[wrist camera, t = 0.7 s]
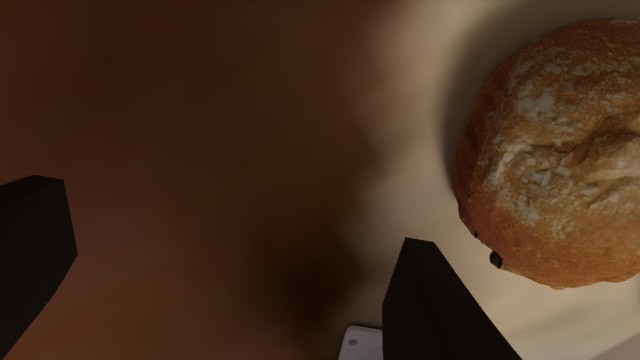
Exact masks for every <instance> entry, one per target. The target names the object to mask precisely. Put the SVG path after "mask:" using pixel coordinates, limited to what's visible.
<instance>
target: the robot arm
mask: <svg viewBox="0 0 640 360" xmlns="http://www.w3.org/2000/svg"><path fill="white" fill-rule="evenodd" d="M77 255H78V252H77V247H76V242H75V237H74V232H73V226H72V221H71V216H70V211H69V206H68V201H67V196H66V190H65V185H64V180H62V179H56V178H50V177H44V176H38V175H32V176H28V177H25V178H22V179H18V180H15V181H12V182H10V183H7V184H4V185H1V186H0V360H2V359H3V358H4V357H5V355H6V354H7V353H8V352H9V350H10V349H11V348H12V347H13V345H14V344H15V343H16V342H17V341H18V339H19V338H20V337H21V336H22V334H23V333H24V332H25V331H26V329H27V328H28V327H29V326H30V324H31V323H32V322H33V321H34V319H35V318H36V317H37V316H38V314H39V313H40V312H41V311H42V309H43V308H44V307H45V305H46V304H47V303H48V302H49V300H50V299H51V298H52V296H53V295H54V293H55V292H56V290H57V289H58V287H59V285H60V284H61V282H62V281H63V279H64V277H65V276H66V274H67V272H68V271H69V269H70V267H71V265H72V264H73V262H74V260H75V258H76V257H77ZM338 360H522V359H521V357H520V356H519V355H518V354H517V353H516V351H515V350H514V349H513V348H512V347H511V345H510V344H509V343H508V342H507V340H506V339H505V338H504V337H503V335H502V334H501V333H500V332H499V330H498V329H497V328H496V327H495V325H494V324H493V323H492V321H491V320H490V319H489V318H488V316H487V315H486V314H485V312H484V311H483V310H482V308H481V307H480V306H479V304H478V303H477V302H476V300H475V299H474V297H473V296H472V295H471V293H470V292H469V291H468V289H467V288H466V286H465V285H464V284H463V282H462V281H461V279H460V278H459V277H458V275H457V274H456V272H455V271H454V270H453V268H452V267H451V265H450V264H449V263H448V261H447V260H446V258H445V257H444V255H443V254H442V253H441V251H440V250H439V248H438V247H437V246H436V244H435V243H434V242H430V241H424V240H418V239H412V238H407V237H405V240H404V243H403V246H402V249H401V252H400V254H399V257H398V260H397V263H396V266H395V269H394V272H393V275H392V278H391V281H390V284H389V287H388V290H387V292H386V295H385V298H384V301H383V304H382V330H379V329H373V328H367V327H360V326H350V327H348V328H347V330H346V332H345V336H344V339H343V343H342V346H341V350H340V354H339V357H338Z"/></svg>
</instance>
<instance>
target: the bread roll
mask: <svg viewBox="0 0 640 360" xmlns="http://www.w3.org/2000/svg"><path fill="white" fill-rule="evenodd" d="M452 189H453V192H454V194H455V197H456V199H457V202H458V207H459V208H458V210H459V216H460V219H461V220H462V222H463V223H464V224H465V225H466V227H467V228H468V229H469V231H470V232H471V234H472V235H473V236H475V238H477V239H479V240H480V241H481V242H482V243H483V244H485V245H486V246H487V247H489V248H491V249H492V251H493V252H492V253H491V254H490V262H491V264H493V265H494V266H496V267H497V268H498V269H502V270H506V271H509V272H512V273H515V274H517V275H521V276H524V277H526V278H528V279H531V280H533V281H535V282H537V283H540V284H544V285H548V286H550V287H551V288H553V289H554V290H563V289H565V288H567V287H570V288H576V287H581V286H587V285H591V284H595V283H598V282H601V281H606V282H614V283H616V282H621V281H625V280H627V279H629V278H631V277H633V276H634V275H636V274H638V273H640V21H632V20H623V19H613V18H593V19H589V20H586V21H582V22H578V23H575V24H572V25H569V26H566V27H563V28H560V29H557V30H554V31H552V32H550V33H548V34H546V35H543V36H541V37H539V38H537V39H536V40H534V41H532V42H531V43H529V44H528V45H526V46H525V47H523V48H522V49H520V50H519V51H517V52H516V53H515V54H513V55H512V56H511V57H510V58H508V59H507V60H506V61H504V62H503V63H502V64H500V65H499V66H498V67H497V68H496V69H495V70H494V72H493V73H492V74H491V75H490V76H489V77H488V79H487V80H486V81H485V82H484V84H483V86H482V88H481V90H480V91H479V94H478V97H477V100H476V101H475V103H474V104H473V106H472V108H471V115H470V117H469V118H468V120H467V122H466V123H465V127H464V130H463V133H462V136H461V139H460V141H459V144H458V148H457V152H456V155H455V159H454V172H453V176H452Z"/></svg>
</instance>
